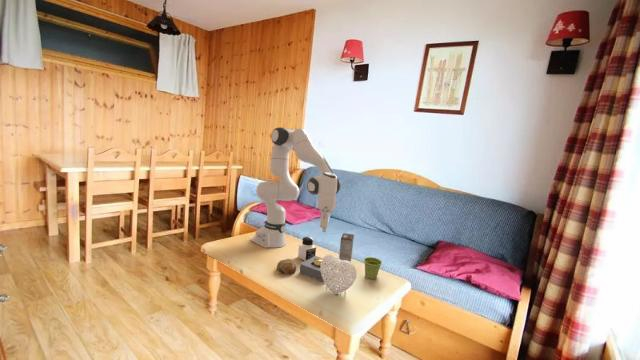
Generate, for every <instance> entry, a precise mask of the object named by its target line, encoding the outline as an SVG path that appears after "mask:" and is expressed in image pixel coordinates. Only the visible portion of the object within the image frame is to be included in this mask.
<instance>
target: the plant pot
mask: <svg viewBox="0 0 640 360" xmlns="http://www.w3.org/2000/svg"><path fill="white" fill-rule="evenodd" d="M363 262H364V276H365V278H367V279H369V280H375V279H377V278H378V274H379V270H380V268H381V266H382V264H383V261H382V260H381V259H379V258H376V257H371V256H367V257H364V258H363Z"/></svg>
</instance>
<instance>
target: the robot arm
mask: <svg viewBox="0 0 640 360" xmlns="http://www.w3.org/2000/svg"><path fill="white" fill-rule="evenodd" d="M270 136H271V137H270V138H271V142H272V143H273V144H272V145H273V146H272V149H271V155H270V166H269V167H270V168H269V169H270V170H269V171H270V173H271V174H272V175H273V176H276V177H277V178H278V179H279V181H262V182H260V183H258V185H257V186H256V194H257V197H258V198H259V199H260V200H261V201H262V202H263V204H264V205H265V206H266V213H267V214H266V220H264V221H263V224H264V225H263V226H262V227H260V228H259V229H257V230H256V231H255V235H254V236H253V237H251V239H250V241H251V242H253V243H255V244H257V245H259V246H261V247H263V248H265V249H266V248H281V247H284V246H286V245H287V242H286V235H285V234H286V233H285V230H286V213H287V211H286V208H285V207H283V205H280V204H279V203H277V201H288V202H289V201H294V200H295V201H296V200H297V199H298V197H299V195H300V188H299V186H298V185H297V184H296V183H295V182H294V180H293V179H292V177H291V174H290V153H291V150H293V151H294V154H295V156H296V157H297V159H298V160H299V161H301V162H304V163H307V164H310V165H313V166H315V167H316V168H317V169H318V170H319V172H320V175H316V176H312V177H310V178H309V179H308V181H307V185H306V186H307V187H306V189H307V190H308V192H309V194H311V195H313V196H318V198H317V200H318V201H317V209H319V211H320V212H321V214H320V221H319V228H321V229H322V233H326V231H327V228H328V226H329V223H330V217H331V213H333V211H334V210H335V209H336V204H337V198H336V196H337V194H338V193H339V191H340V189H341V186H342V185H341V181H340V180H339V178H338V176H337V175H336V174H335V173H334V172H333V170H332V168H331V166H330V165H329V163H328V161H327V160H326V158H325V156H324V155H323V154H322V153H321V152H320V151H318V149H317V148H316V146H314V145H315V144H313V141H312V138H311V137H310V135H309V134H308V132H307V131H306V130H305V129H303V128H295V129H293V128H285V127H275V128H274V129H273V130H272V132H271V135H270Z"/></svg>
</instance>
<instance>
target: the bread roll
mask: <svg viewBox="0 0 640 360" xmlns="http://www.w3.org/2000/svg"><path fill="white" fill-rule="evenodd" d="M276 268H277V272H278V273H279V274H280V275H286V276H291V275H294V274H295V273H296V271H297V264H296V263H295V261H294V260H292V259H290V258H284V259H282V260H279V262H278V263H277V266H276Z"/></svg>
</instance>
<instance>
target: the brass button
mask: <svg viewBox="0 0 640 360" xmlns="http://www.w3.org/2000/svg"><path fill="white" fill-rule="evenodd" d="M323 258H324V257H321V258H314V263H313V265H315V266H317V267H320V265H321V261H322V259H323Z"/></svg>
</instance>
